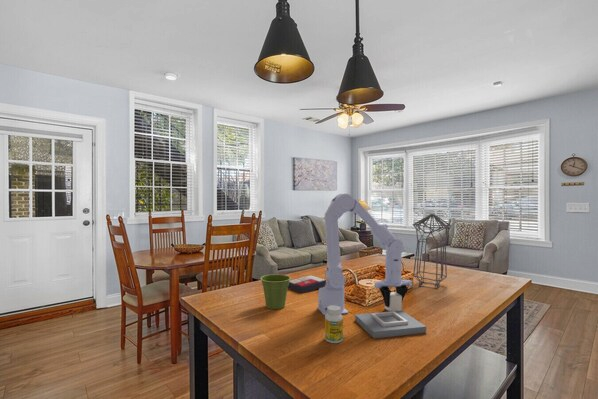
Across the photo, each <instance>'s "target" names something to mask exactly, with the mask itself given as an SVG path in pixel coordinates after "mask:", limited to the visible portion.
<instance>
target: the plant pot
mask: <svg viewBox="0 0 598 399" xmlns="http://www.w3.org/2000/svg"><path fill="white" fill-rule="evenodd" d="M259 278H260V279H259V280H260V281H261V285H262V287H263V294H264V301H265V308H267V309H270V310H275V311H277V310H281V309H283V308H284V307H285V306H286V302H287V301H286V300H287V294H288V289H289V288H288V285H289V281H291V280H292V277H291V276H290V275H286V274H277V273H276V274H275V273H273V274H265V275H262V276H260V277H259Z"/></svg>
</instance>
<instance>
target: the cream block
mask: <svg viewBox="0 0 598 399" xmlns="http://www.w3.org/2000/svg"><path fill="white" fill-rule="evenodd" d="M384 309H385V310H386V311H387V312H389V311H401V310H402V311H403V302H402V295H400V294H398V293H396V291H391V293H390V305H389V307H387V306H385V305H384Z"/></svg>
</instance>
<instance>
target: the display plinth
mask: <svg viewBox="0 0 598 399" xmlns="http://www.w3.org/2000/svg"><path fill="white" fill-rule="evenodd" d="M354 321H355V322H356V323H357V324H358V325H360V327H361V328H362V329H364V331H366V332H367V333H368V334H369V335H370V336H371V337H372V338H373V339H380V338H381V339H383V338H390V337H391V338H392V337H400V336H409V335H420V334H427V325H425V324H423V323H422V322H421V321H418V320H417V319H415V318H414V317H413V316H411V315H409V314H408V313H407V312H405V311H403V309H402V310H401V311H382V312H367V313H358V314H354Z"/></svg>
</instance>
